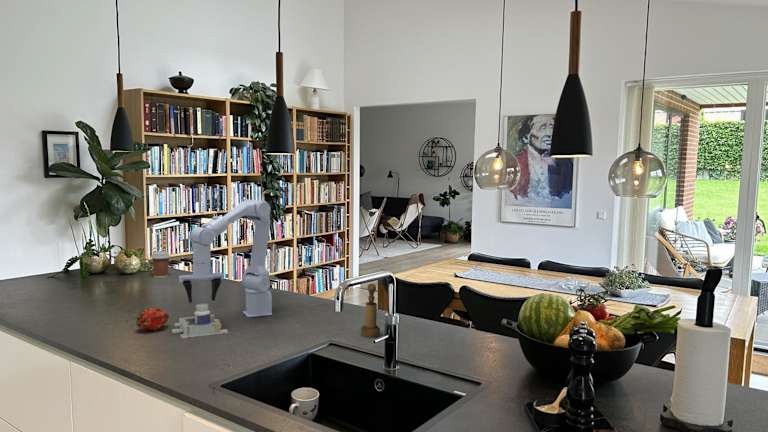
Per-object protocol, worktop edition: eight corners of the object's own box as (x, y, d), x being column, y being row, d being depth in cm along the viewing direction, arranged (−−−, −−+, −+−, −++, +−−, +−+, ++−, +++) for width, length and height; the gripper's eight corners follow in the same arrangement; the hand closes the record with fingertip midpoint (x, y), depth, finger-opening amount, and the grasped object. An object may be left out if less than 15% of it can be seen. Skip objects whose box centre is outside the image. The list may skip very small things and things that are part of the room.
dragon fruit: (132, 338, 182) (165, 334, 191) (146, 327, 178) (178, 324, 187) (127, 314, 185) (159, 312, 195) (140, 303, 181) (172, 302, 191)
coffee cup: (147, 277, 267) (146, 253, 266) (157, 273, 276) (157, 250, 274) (164, 278, 265) (164, 254, 264) (174, 275, 274) (174, 251, 273)
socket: (217, 320, 199) (217, 312, 199) (228, 332, 185) (228, 324, 185) (169, 325, 191) (169, 317, 191) (175, 339, 177) (175, 330, 177)
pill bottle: (213, 329, 189) (213, 304, 188) (201, 333, 184) (201, 307, 184) (202, 326, 191) (202, 301, 191) (190, 330, 187) (190, 305, 186)
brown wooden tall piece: (365, 338, 184) (367, 286, 182) (357, 333, 190) (359, 282, 188) (383, 336, 187) (384, 285, 185) (374, 331, 193) (376, 281, 191)
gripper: (220, 259, 194) (220, 296, 195) (177, 261, 187) (177, 300, 188) (225, 262, 187) (225, 301, 189) (180, 265, 180) (181, 305, 182)
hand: (201, 301), depth 188 cm, fingers open, 7 cm apart
